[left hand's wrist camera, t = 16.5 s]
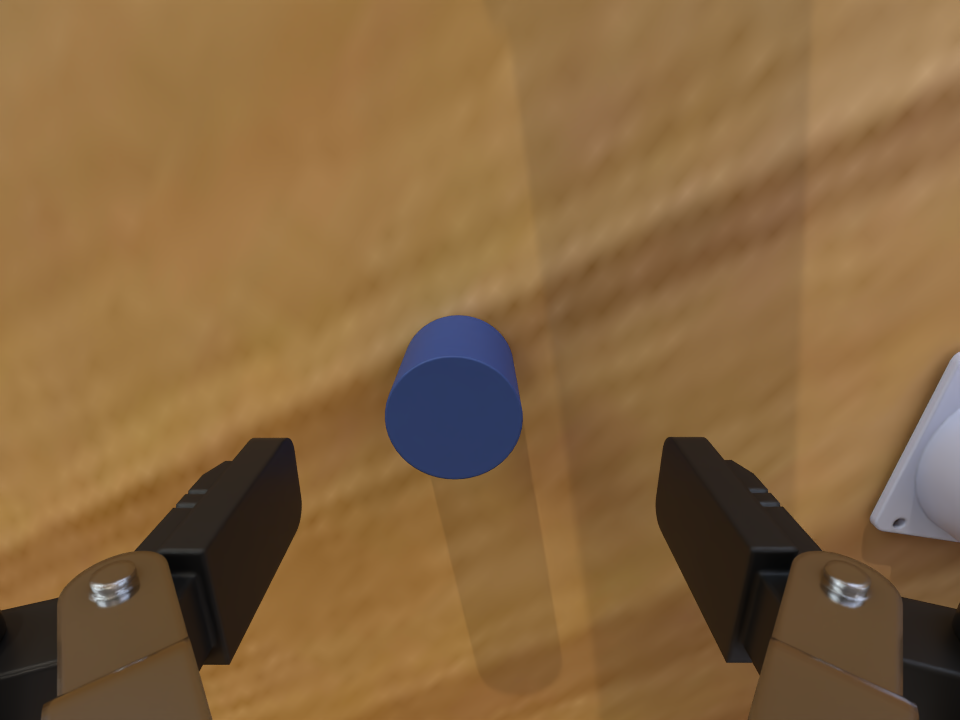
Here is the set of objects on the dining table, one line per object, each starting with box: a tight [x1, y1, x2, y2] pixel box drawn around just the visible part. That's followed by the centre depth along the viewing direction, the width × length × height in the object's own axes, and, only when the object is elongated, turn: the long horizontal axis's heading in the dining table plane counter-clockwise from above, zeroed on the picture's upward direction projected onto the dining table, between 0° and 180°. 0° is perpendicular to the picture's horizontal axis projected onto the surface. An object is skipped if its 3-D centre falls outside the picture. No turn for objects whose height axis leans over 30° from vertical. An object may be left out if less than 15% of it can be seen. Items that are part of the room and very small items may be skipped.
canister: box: [385, 315, 523, 479], centre depth 18 cm, size 4×4×4 cm
